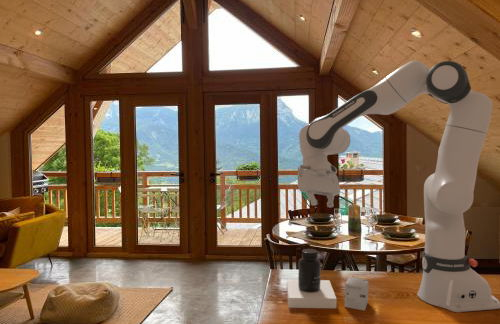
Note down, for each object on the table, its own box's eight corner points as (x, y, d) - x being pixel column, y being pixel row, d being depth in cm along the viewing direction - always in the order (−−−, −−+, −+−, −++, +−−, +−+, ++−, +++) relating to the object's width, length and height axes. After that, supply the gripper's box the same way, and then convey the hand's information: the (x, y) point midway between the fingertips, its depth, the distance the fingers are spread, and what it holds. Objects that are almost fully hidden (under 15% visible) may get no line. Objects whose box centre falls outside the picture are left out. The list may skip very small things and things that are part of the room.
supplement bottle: (320, 293, 120) (320, 255, 119) (297, 292, 121) (297, 253, 120) (320, 284, 127) (321, 248, 126) (299, 283, 128) (299, 247, 127)
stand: (329, 289, 131) (329, 280, 131) (336, 308, 117) (336, 298, 117) (286, 288, 132) (286, 279, 131) (288, 307, 118) (288, 297, 117)
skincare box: (344, 307, 118) (344, 283, 117) (348, 299, 123) (348, 276, 123) (365, 311, 115) (365, 286, 115) (368, 302, 121) (368, 279, 120)
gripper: (304, 161, 132) (311, 201, 128) (339, 169, 146) (346, 205, 142) (290, 166, 136) (296, 206, 132) (325, 174, 150) (331, 209, 146)
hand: (322, 206), depth 137 cm, fingers open, 8 cm apart
